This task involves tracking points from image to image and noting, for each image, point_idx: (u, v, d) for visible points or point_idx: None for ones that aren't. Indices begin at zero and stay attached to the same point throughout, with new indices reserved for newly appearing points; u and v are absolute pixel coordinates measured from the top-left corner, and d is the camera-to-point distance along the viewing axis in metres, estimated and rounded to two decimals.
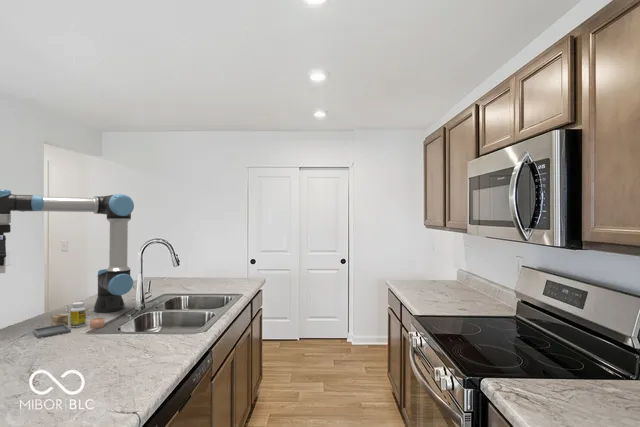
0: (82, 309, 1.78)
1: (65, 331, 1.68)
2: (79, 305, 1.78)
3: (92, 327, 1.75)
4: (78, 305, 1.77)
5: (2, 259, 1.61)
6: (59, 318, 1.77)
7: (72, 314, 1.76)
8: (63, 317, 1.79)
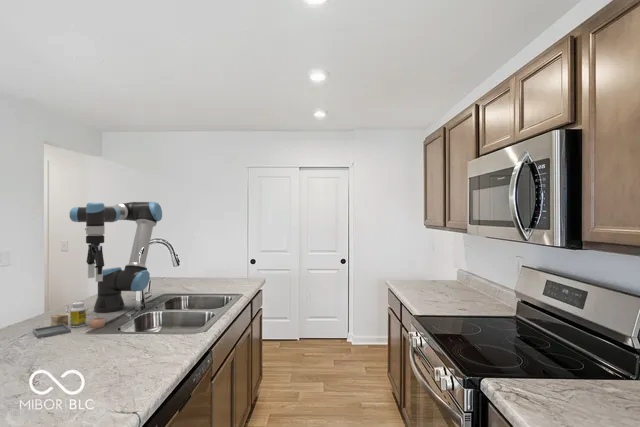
0: (82, 309, 1.78)
1: (65, 331, 1.68)
2: (79, 305, 1.78)
3: (92, 327, 1.75)
4: (78, 305, 1.77)
5: (100, 268, 1.72)
6: (59, 318, 1.77)
7: (72, 314, 1.76)
8: (63, 317, 1.79)
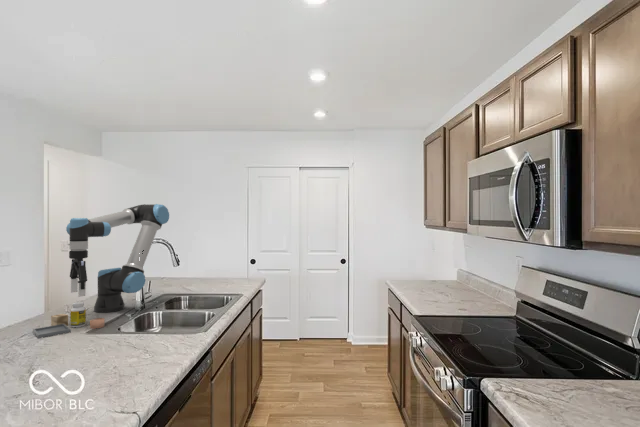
0: (82, 309, 1.78)
1: (65, 331, 1.68)
2: (79, 305, 1.78)
3: (92, 327, 1.75)
4: (78, 305, 1.77)
5: (83, 283, 1.73)
6: (59, 318, 1.77)
7: (72, 314, 1.76)
8: (63, 317, 1.79)
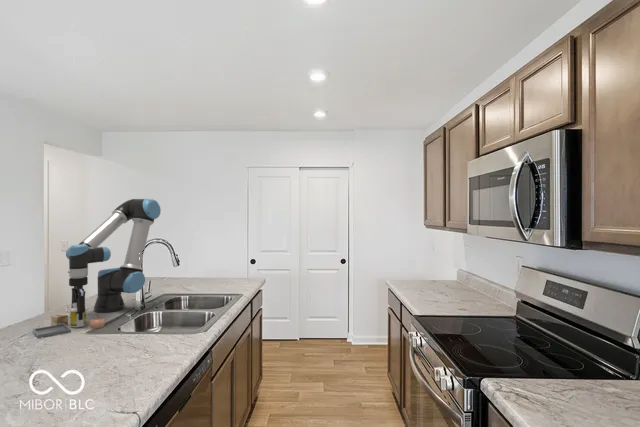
0: None
1: (65, 331, 1.68)
2: None
3: (92, 327, 1.75)
4: None
5: (81, 314, 1.76)
6: (59, 318, 1.77)
7: (72, 314, 1.76)
8: (63, 317, 1.79)
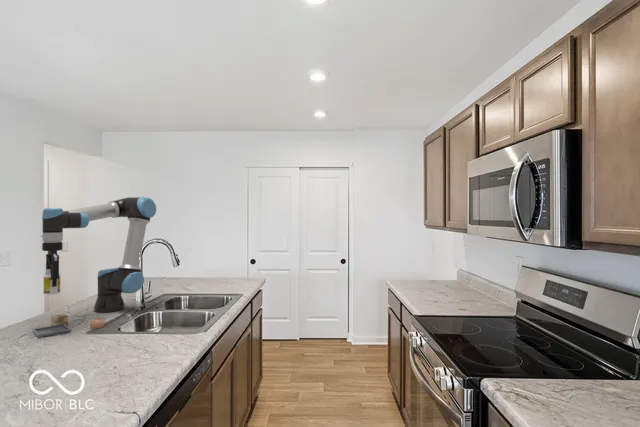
0: None
1: (65, 331, 1.68)
2: None
3: (92, 327, 1.75)
4: None
5: (55, 280, 1.66)
6: (59, 318, 1.77)
7: (45, 280, 1.66)
8: (63, 317, 1.79)
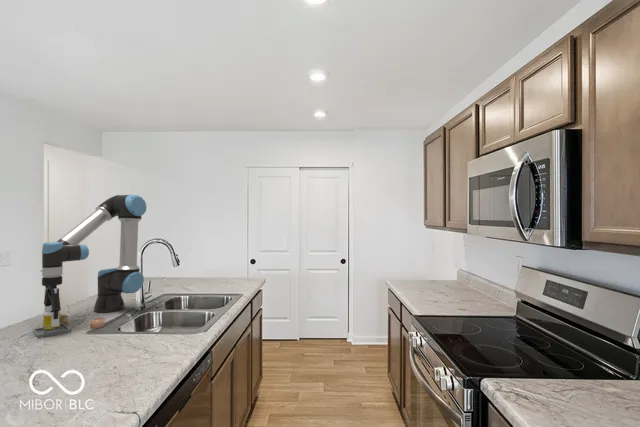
0: None
1: (65, 331, 1.68)
2: None
3: (92, 327, 1.75)
4: None
5: (56, 312, 1.63)
6: None
7: (45, 318, 1.66)
8: (63, 317, 1.79)
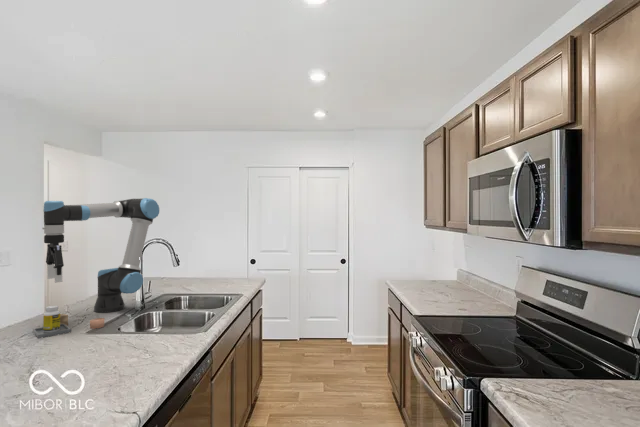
0: (56, 313, 1.68)
1: (65, 331, 1.68)
2: (53, 309, 1.68)
3: (92, 327, 1.75)
4: (51, 309, 1.67)
5: (59, 269, 1.66)
6: None
7: (45, 318, 1.66)
8: (63, 317, 1.79)
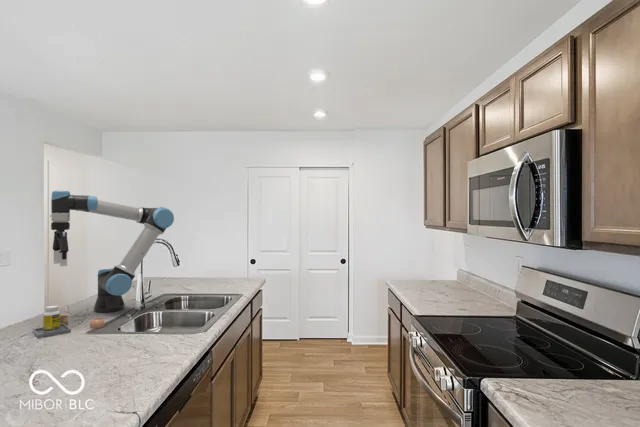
0: (56, 313, 1.68)
1: (65, 331, 1.68)
2: (53, 309, 1.68)
3: (92, 327, 1.75)
4: (51, 309, 1.67)
5: (65, 253, 1.78)
6: None
7: (45, 318, 1.66)
8: (63, 317, 1.79)
